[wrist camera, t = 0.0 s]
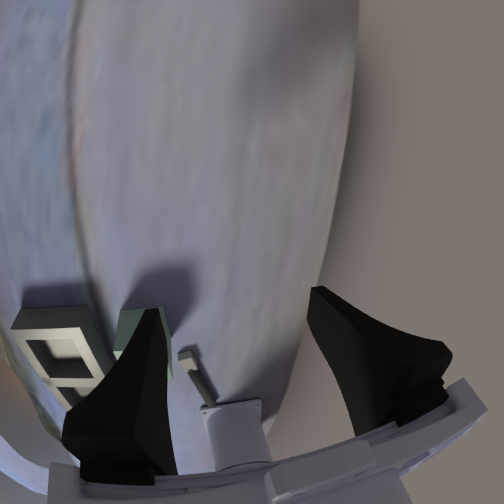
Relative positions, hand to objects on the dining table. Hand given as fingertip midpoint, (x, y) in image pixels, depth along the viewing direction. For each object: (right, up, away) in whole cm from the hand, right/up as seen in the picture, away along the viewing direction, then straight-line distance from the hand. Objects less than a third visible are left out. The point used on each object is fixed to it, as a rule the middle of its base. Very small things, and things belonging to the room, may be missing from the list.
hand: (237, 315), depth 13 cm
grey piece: (-18, -9, +12) cm, 23 cm away
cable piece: (-5, -12, +17) cm, 22 cm away
